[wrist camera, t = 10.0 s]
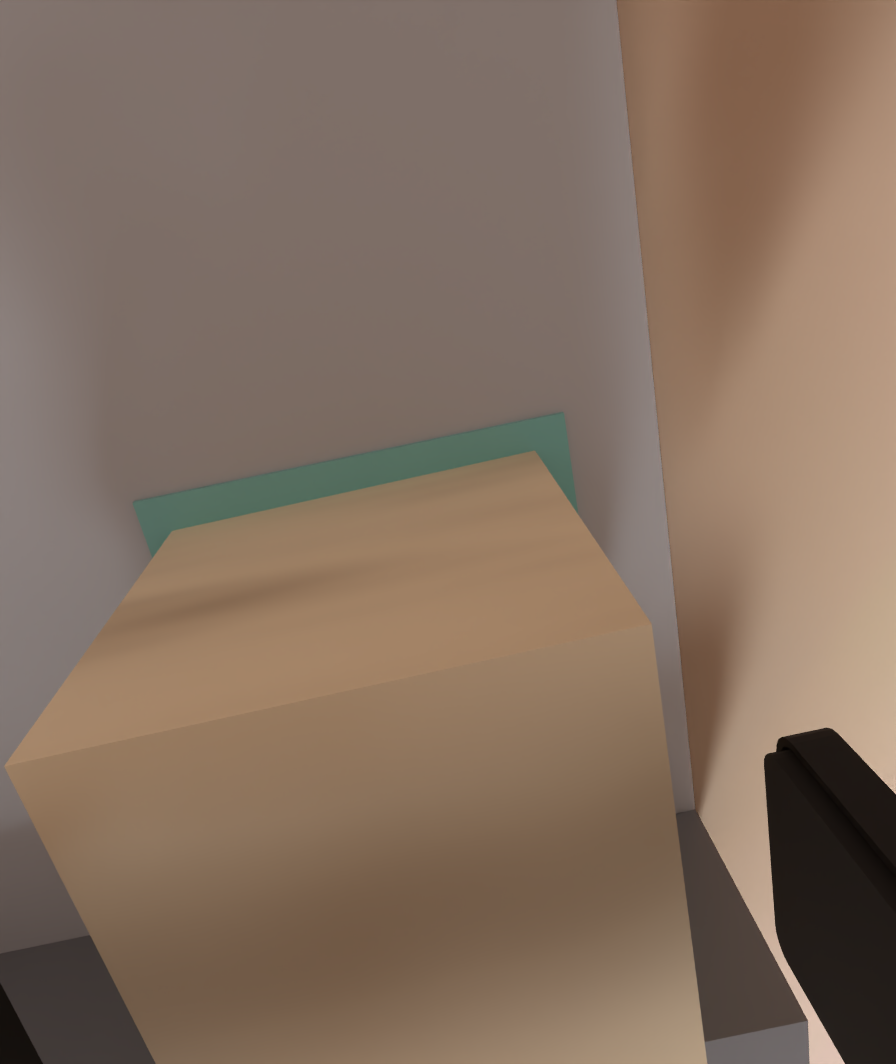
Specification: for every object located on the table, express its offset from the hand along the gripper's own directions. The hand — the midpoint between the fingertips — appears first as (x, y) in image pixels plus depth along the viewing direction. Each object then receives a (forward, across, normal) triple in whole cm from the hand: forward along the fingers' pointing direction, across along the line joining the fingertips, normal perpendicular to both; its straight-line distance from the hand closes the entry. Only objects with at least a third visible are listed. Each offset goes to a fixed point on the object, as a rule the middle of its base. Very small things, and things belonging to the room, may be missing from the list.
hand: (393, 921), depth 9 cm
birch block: (+5, 0, -1) cm, 5 cm away
